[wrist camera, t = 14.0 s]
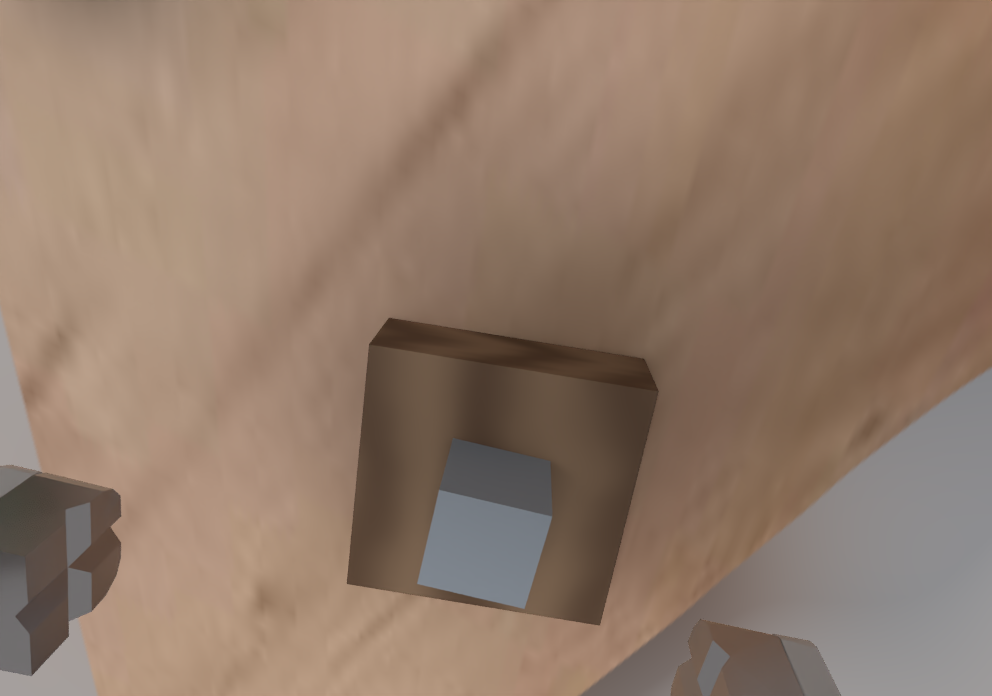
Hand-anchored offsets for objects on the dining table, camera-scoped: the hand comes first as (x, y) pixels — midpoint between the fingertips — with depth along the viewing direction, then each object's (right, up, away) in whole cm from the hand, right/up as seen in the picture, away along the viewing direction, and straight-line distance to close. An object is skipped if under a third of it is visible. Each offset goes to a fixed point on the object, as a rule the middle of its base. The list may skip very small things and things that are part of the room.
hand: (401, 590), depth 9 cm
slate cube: (+1, -4, +25) cm, 25 cm away
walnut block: (+1, -2, +30) cm, 30 cm away
